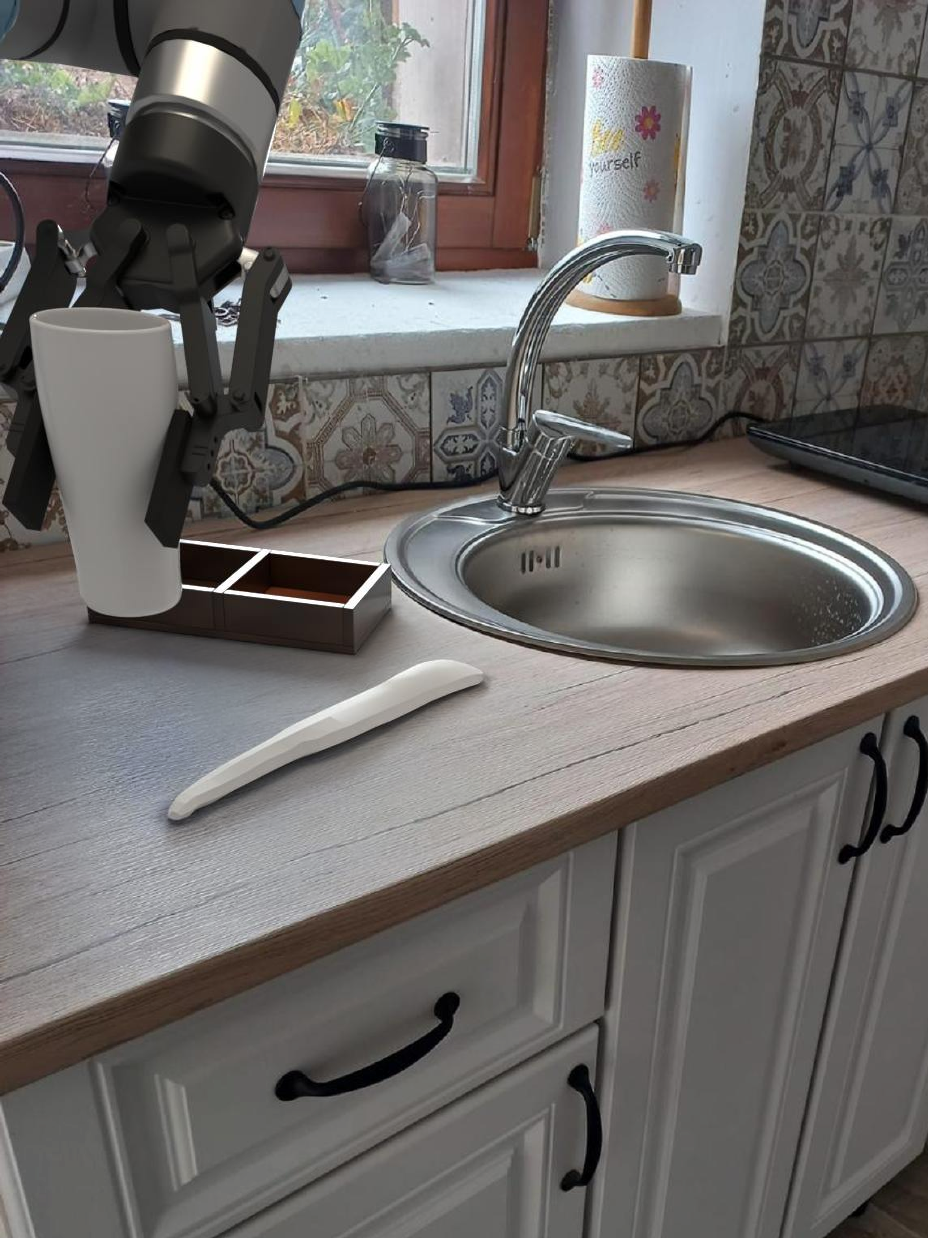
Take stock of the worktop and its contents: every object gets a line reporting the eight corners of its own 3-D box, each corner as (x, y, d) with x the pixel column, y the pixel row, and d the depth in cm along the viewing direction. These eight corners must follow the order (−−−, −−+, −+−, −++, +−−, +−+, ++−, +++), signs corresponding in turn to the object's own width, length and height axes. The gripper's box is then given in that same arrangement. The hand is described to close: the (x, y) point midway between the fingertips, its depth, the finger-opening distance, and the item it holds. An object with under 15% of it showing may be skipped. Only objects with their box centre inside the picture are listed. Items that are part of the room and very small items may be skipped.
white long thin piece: (189, 827, 69) (182, 787, 68) (138, 813, 71) (130, 773, 70) (490, 685, 90) (488, 653, 89) (444, 677, 92) (442, 646, 91)
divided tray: (88, 622, 93) (82, 575, 91) (149, 577, 102) (144, 534, 100) (354, 654, 92) (353, 608, 90) (391, 606, 101) (391, 564, 99)
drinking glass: (123, 636, 65) (88, 335, 58) (40, 602, 68) (-4, 312, 61) (222, 604, 71) (201, 324, 63) (141, 574, 73) (112, 303, 66)
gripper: (378, 228, 73) (296, 583, 67) (53, 190, 73) (-55, 537, 68) (350, 124, 65) (256, 513, 60) (-10, 84, 66) (-137, 463, 60)
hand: (91, 525), depth 64 cm, fingers closed on drinking glass, 7 cm apart
